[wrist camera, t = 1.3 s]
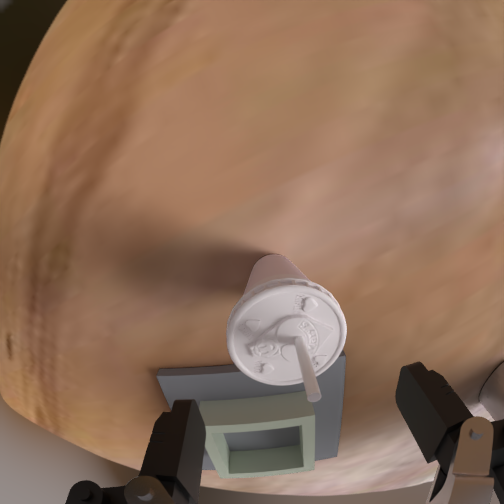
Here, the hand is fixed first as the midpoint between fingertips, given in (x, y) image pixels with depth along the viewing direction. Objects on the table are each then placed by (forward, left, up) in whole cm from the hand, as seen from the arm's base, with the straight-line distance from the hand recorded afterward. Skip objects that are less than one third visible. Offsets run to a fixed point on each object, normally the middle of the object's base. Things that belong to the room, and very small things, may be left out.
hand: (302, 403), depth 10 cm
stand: (-5, +17, -14) cm, 23 cm away
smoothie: (0, 0, -15) cm, 15 cm away
